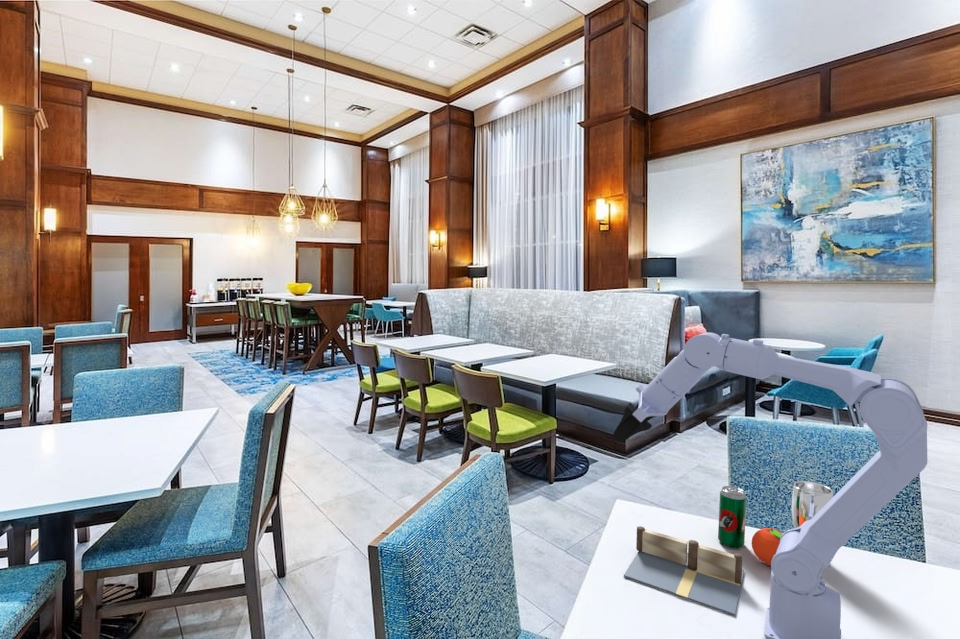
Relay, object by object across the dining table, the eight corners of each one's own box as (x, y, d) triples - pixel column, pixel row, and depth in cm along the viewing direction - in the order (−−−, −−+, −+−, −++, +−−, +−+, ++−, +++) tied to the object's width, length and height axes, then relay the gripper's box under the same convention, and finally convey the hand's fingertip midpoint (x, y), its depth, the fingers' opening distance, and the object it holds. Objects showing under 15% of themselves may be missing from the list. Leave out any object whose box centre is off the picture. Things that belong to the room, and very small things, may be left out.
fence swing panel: (687, 561, 95) (687, 539, 95) (685, 565, 94) (686, 543, 93) (637, 546, 101) (638, 525, 100) (635, 549, 99) (635, 528, 99)
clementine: (804, 572, 93) (806, 537, 92) (779, 580, 90) (781, 544, 90) (766, 550, 100) (768, 518, 100) (742, 557, 98) (744, 524, 97)
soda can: (747, 551, 100) (750, 496, 99) (721, 548, 101) (724, 494, 100) (739, 538, 105) (742, 486, 104) (715, 536, 106) (717, 484, 105)
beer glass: (795, 564, 95) (799, 492, 94) (784, 546, 102) (787, 478, 101) (836, 570, 93) (840, 497, 92) (822, 551, 100) (826, 482, 99)
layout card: (744, 571, 93) (744, 569, 93) (734, 616, 81) (734, 614, 80) (645, 541, 104) (645, 539, 104) (623, 577, 91) (623, 574, 91)
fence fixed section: (741, 580, 90) (743, 554, 89) (740, 585, 88) (742, 559, 88) (688, 564, 95) (689, 539, 95) (686, 568, 93) (687, 543, 93)
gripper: (664, 361, 94) (621, 406, 101) (641, 378, 83) (595, 427, 89) (693, 387, 92) (647, 431, 98) (674, 407, 80) (623, 456, 86)
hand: (624, 431), depth 93 cm, fingers open, 7 cm apart
